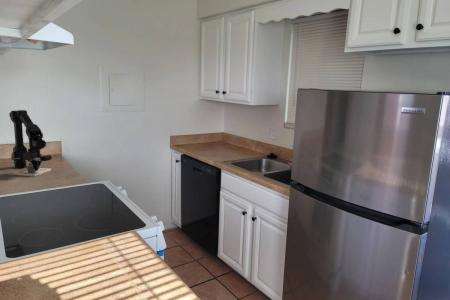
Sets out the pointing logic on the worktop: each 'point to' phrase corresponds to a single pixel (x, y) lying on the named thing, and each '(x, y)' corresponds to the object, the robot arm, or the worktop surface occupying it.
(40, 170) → the switch plate
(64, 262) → the worktop surface
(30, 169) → the slider
